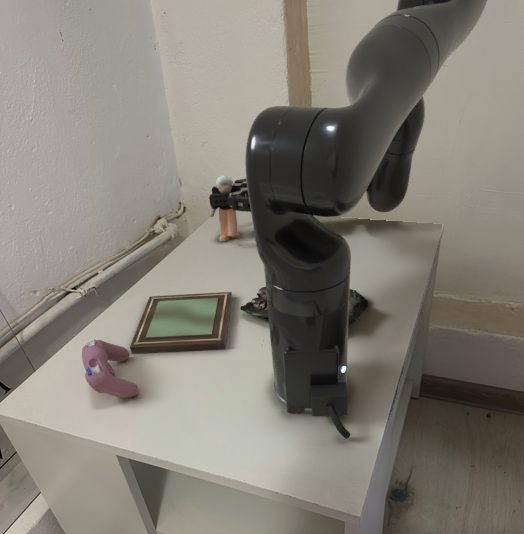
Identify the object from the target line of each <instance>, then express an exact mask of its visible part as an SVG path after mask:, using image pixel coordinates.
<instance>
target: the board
mask: <svg viewBox="0 0 524 534" xmlns="http://www.w3.org/2000/svg"><path fill="white" fill-rule="evenodd" d="M232 303H233V292H232V291H224V292H223V291H222V292H204V293H188V294H185V293H184V294H169V295H168V294H167V295H157V296H155V295H151V296H149V298H148V300H147V303H146V305H145V307H144V310H143V313H142V315H141V317H140V321H139V323H138V326H137V328H136V330H135V332H134V336H133V338H132V341H131V343H130V346H129V349H130V352H131V354H133V355H134V354H152V353H170V352H171V353H172V352H173V353H174V352H192V351H211V350H212V351H213V350H225V349H226V345H227V338H228V337H227V336H228V332H229V325H230V316H231V309H232Z"/></svg>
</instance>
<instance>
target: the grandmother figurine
mask: <svg viewBox="0 0 524 534" xmlns="http://www.w3.org/2000/svg"><path fill="white" fill-rule="evenodd" d="M215 181H216V182H215V186H217V188H218V189H219V191H220V192H221V193H228V194H229V193H232V192H230V191H231V187H232V185H233V183H234V180H232V178H231V177H229V176H228V175H225V174H222V175H220V176H219V177H217V179H216V180H215ZM238 202H239V201H238ZM216 210H218V226H219V227H218V228H219V234H220V236H219V242H227V241H230V238H231V239H237V238H240V237H241V234H240V233H239V232H238V218H237V211H234V210H232V207H230V205H227V206H211V205H210V210H209V214H208V215H209V217H211V218H214V217H215V213H216V212H217V211H216Z"/></svg>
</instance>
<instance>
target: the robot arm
mask: <svg viewBox="0 0 524 534" xmlns="http://www.w3.org/2000/svg"><path fill="white" fill-rule="evenodd" d="M487 2H488V0H398V1H397V6H396V11H394V12H391V13H390V14H388V15H387V16H385V17H383V18H382V19H381V20H379V21H378V22H376V23H375V25H373V27H372V28H371V29H370V30H369V31H368V32H367V33H366V34H365V35H364V36H363V37H362V38H361V40H360V41H359V42H358V43H357V44H356V46H355V47H354V49H353V50H352V52H351V54H350V56H349V58H348V61H347V64H346V68H345V81H344V82H345V89H346V95H347V98H348V100H349V104H350V105H347V106H342V107H341V106H340V107H321V106H320V107H319V106H318V107H317V106H296V105H295V106H293V105H276V106H269V107H267V108H265V109H263V110H262V111H260V112H259V113H258V115H257V116H256V117H255V119H254V120H253V122H252V124H251V126H250V129H249V131H248V136H247V140H246V145H245V161H244V165H245V167H244V168H245V178H241V179H236V180H233V185H232V187H231V191H230V192H232V193H229V194H228V193H221V192H220V191H219V189H218V188H217V185H213V186H212V188H211V194H210V195H209V198H208V199H209V200H208V201H209V204H210V207H211V206H227V205H230V207H232V210H234V211H236V212H248V213H251V220H252V226H253V232H254V233H253V234H254V240H255V246H256V251H257V255H258V256H259V258H260V260H261V262H262V265H263V269H264V280H265V282H264V283H265V287H266V293H267V306H268V317H269V318H268V327H269V338H270V348H271V360H272V369H273V371H272V372H273V380H274V381H273V388H274V389H273V390H274V394H275V396H276V398H277V400H278V401H279V402H280V403H281V404H282V405H284V406H285V407H286V412H287V414H297V413H299V414H302V413H303V414H305V413H311V416H312V417H330V419H331V421H332V424H333V425H334V427H335V429H336V430H337V432H338V434H339V435H341V437H343V438H344V439H349V438H350V437H351V435H352V434H351V432H350V431H349V430H347V429H346V427H345V426H344V424H343V422H342V421H341V420H340V417H339V416H347V415H348V409H349V407H348V406H349V394H348V393H349V392H348V347H349V323H348V321H349V295H350V289H351V270H352V269H351V265H352V252H351V248H350V245H349V243H348V241H347V240H346V239H345V238H344V237H343V236H342V235H340V233H338V232H336V231H335V230H333V229H331V228H329V227H328V226H327V225H325V224H323V223H322V222H321V221H320V220H318V219H317V218H316V217H324V218H336V217H342V216H344V215H347V214H348V213H350V212H351V211H352V210H353V209H354V208H355V207H356V206H357V205H358V204H359V203H360V201H361V199H362V198H363V196H364V195H366V200H367V202H368V204H369V205H370V208H372V209H373V210H374V211H376V212H379V213H388V212H391V211H394V210H396V209H397V208H398V207H399V206H400V205H401V204H402V202H403V201H404V199H405V197H406V195H407V191H408V188H409V183H410V177H411V172H412V171H411V170H412V162H413V157H414V153H415V151H416V148H417V146H418V143H419V140H420V136H421V133H422V130H423V128H424V123H425V118H426V107H425V106H426V105H425V99H424V95H425V93H426V92H427V90H428V89H429V87H430V86H431V85H432V83H433V82H434V80H435V78H436V77H437V75H438V74H439V72H440V71H441V69H442V67H443V66H444V63H445V62H446V61H447V59H448V58H449V57H450V56H451V55H452V54H453V53H454V52H456V50H457V49H458V48H459V47H460V46H461V45H463V43H464V42H465V41H466V39H467V38H468V37H469V35H470V34H471V33H472V31H473V30H474V28H475V27H476V26H477V23H478V22H479V20H480V18H481V17H482V14H483V12H484V10H485V7H486V6H487ZM238 201H239V202H238Z"/></svg>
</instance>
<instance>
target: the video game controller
mask: <svg viewBox="0 0 524 534" xmlns="http://www.w3.org/2000/svg"><path fill="white" fill-rule="evenodd" d="M129 357H130V351H129V350H128V349H127V348H126V347H124V346H122V345H118V344H113V343H109V342H107V341H105V340H102V339H95V338H94V339H93V340H92V341H89V342H88V343H87V344H85V345H84V346H83V347H82V348H81V359H82V364H83V367H84V370H85V373H84V377H85V378H84V379H85V380H86V382H87V384H88V385H89V387H90V388H92V390H94V391H95V392H96V393H98V394H106V395H109V396H112V397H118V398H132V397H134V396H137V395H138V393H139V391H140V390H139V387H138V385H137V384H136V383H135V382H133V381H130V380H126V379H123V378H121V377H117V376H114V375H113V374H115V369H114V367H113V366H112V365H111V364H110V362H123V361H126V360H128V359H129Z"/></svg>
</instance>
